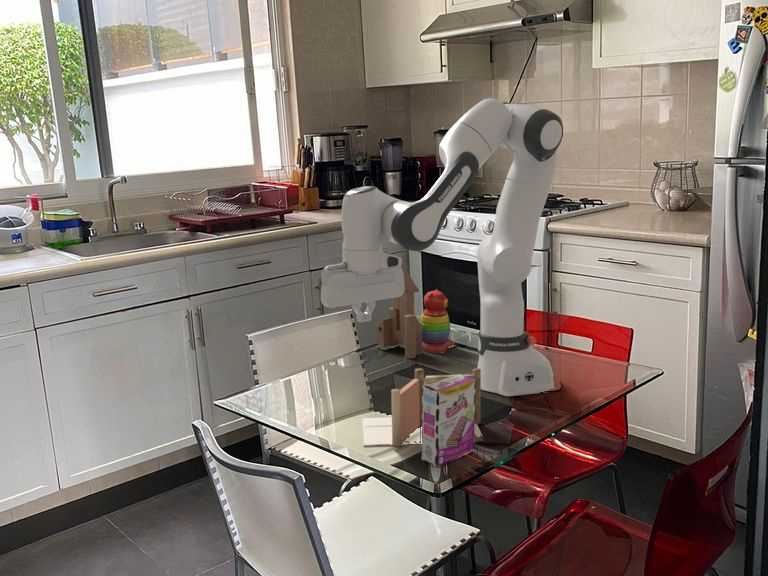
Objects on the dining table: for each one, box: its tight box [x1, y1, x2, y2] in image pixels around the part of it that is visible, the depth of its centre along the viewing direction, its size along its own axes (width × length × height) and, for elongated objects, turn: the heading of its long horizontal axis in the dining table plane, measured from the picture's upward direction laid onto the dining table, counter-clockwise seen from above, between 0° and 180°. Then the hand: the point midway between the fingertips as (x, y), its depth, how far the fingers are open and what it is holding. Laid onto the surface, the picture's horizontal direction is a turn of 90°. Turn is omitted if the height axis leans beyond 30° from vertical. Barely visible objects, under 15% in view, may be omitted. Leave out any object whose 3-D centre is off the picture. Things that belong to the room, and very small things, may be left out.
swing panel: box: [390, 378, 420, 447], centre depth 167 cm, size 12×2×12 cm, turn 155°
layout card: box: [361, 416, 483, 448], centre depth 172 cm, size 26×16×1 cm, turn 93°
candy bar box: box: [421, 373, 476, 468], centre depth 157 cm, size 11×5×16 cm, turn 131°
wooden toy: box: [376, 268, 423, 360], centre depth 229 cm, size 16×7×25 cm, turn 42°
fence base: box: [414, 367, 482, 426], centre depth 174 cm, size 15×2×14 cm, turn 93°
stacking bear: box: [419, 289, 457, 354], centre depth 233 cm, size 11×10×18 cm
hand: (364, 321), depth 173 cm, fingers closed
